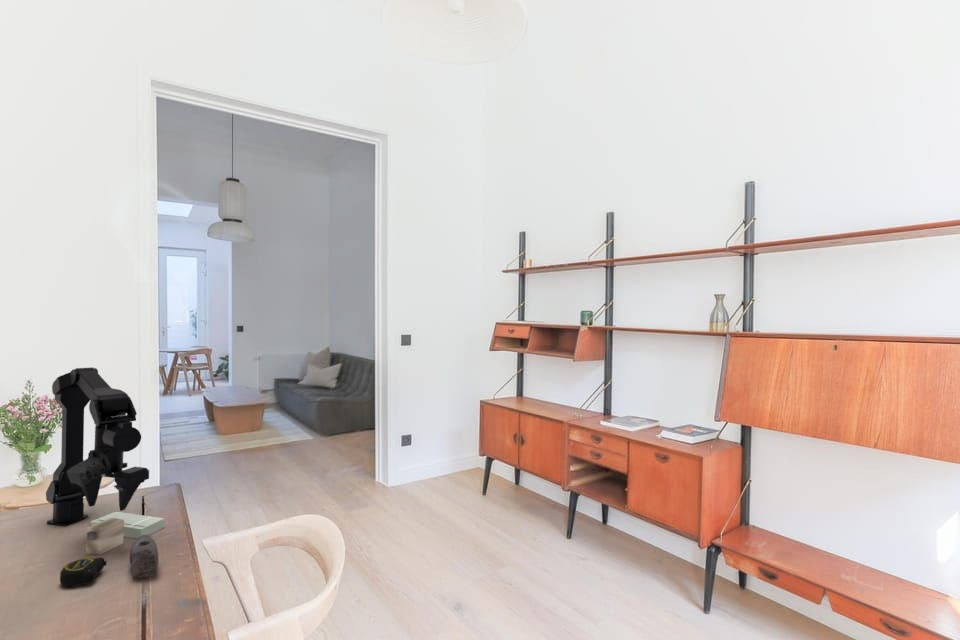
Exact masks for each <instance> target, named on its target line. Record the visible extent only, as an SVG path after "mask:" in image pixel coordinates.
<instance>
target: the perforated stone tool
mask: <svg viewBox="0 0 960 640" xmlns="http://www.w3.org/2000/svg"><path fill="white" fill-rule="evenodd" d="M128 560H129V565H130V567H129V569H130V573H131V575H132V576H133V577H134V578H136V579H138V578H139V579H142V578H149V577H152V576H153V575H154V574H155V573H156V572H157V569H158V565H159V552H158V546H157V543H156V541H155V540H154V539H153V537H151V536H150V535H142V536H140V537H138V538H135V540H134V542H133V543H132V545H131V547H130V549H129V558H128Z"/></svg>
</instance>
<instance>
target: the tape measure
mask: <svg viewBox="0 0 960 640" xmlns="http://www.w3.org/2000/svg"><path fill="white" fill-rule="evenodd" d="M106 565H107V560H105V558H104V557H101V556H100V557H96V558H91V557H86V558H79V559H76V560H73V561H70V562H69V563H67V564H65V565H64V566H62V569H61V570H60V572H59V573H60V574H59V582H60V584H61V586H64V587H77V586H81V585H85V584H90V583H92V582H93V581H94V580H95V579H96V577H97V576H98V575H99V574H100V572H101V571H103V570H104V567H105V566H106Z"/></svg>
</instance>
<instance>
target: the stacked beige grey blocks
mask: <svg viewBox="0 0 960 640" xmlns="http://www.w3.org/2000/svg"><path fill="white" fill-rule="evenodd" d="M124 537H125V536H124V519H117V518H109V519H107V520H104V521H102V522H99V523H97V524H95V525H92V526H91V525H90V526H87V528H86V551H85V552H86V553H88V554H96V555H102V554H104V553H106V552H108V551H110V550H112V549H115V548H117V547H118V546H121V545H123V544H124Z"/></svg>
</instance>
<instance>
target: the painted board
mask: <svg viewBox="0 0 960 640" xmlns="http://www.w3.org/2000/svg"><path fill="white" fill-rule="evenodd" d="M109 518H117V519H124V537H125V538H132V539H137V538H138V537H140V536H142V535H148V536H150V535H152V534H154V533H156V532H158V531H160V530H162V529H165V518H163V517H156V516H150V515H149V516H148V515H144V514H143V515H142V514H137V513H136V514H135V513H128V512H122V511H115V512H112V513H108V514H106V515H105V516H101V517H99V518H97V519H94V520H92V521H90V526H92V525H95V524H97V523H99V522H102V521H104V520H107V519H109Z"/></svg>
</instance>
